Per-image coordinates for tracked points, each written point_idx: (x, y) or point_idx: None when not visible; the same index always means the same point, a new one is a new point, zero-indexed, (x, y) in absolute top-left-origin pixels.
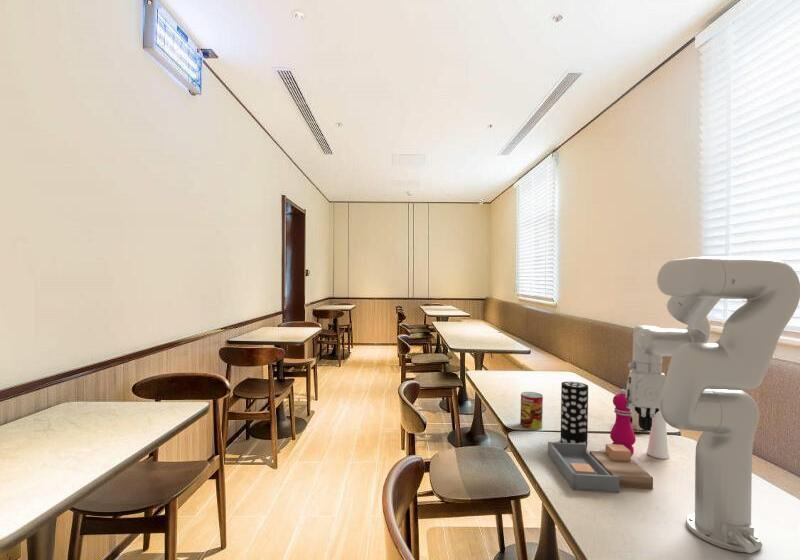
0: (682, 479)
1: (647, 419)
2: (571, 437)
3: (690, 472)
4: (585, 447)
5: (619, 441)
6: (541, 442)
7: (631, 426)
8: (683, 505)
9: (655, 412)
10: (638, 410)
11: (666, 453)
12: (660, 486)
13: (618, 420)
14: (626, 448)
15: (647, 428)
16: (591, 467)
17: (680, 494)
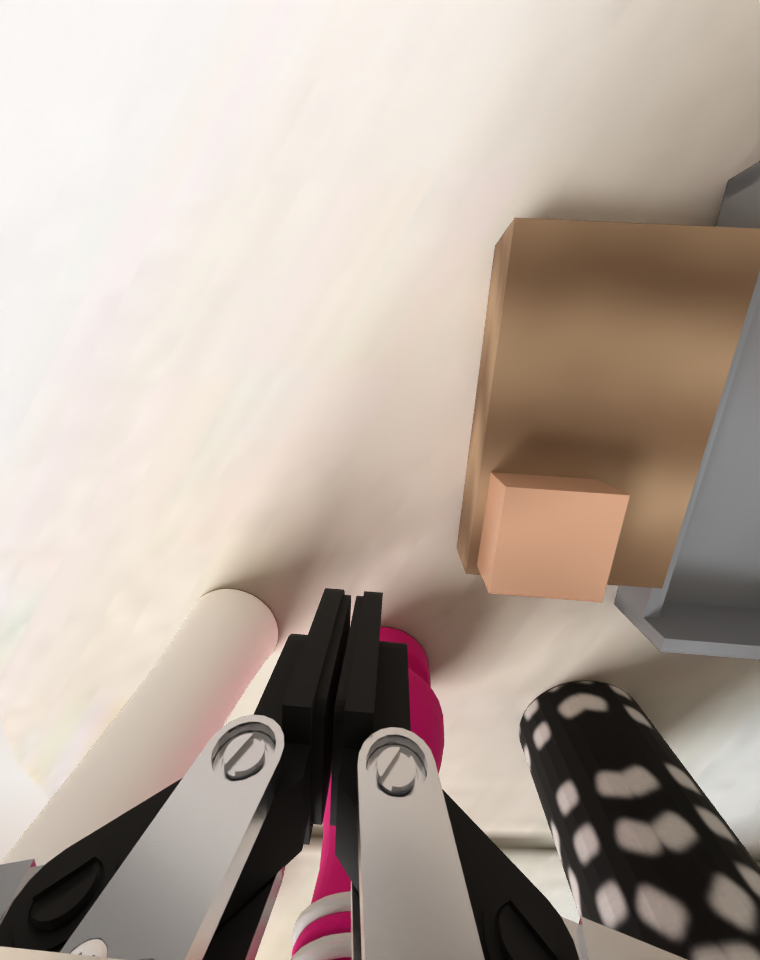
0: (265, 373)
1: (343, 688)
2: (660, 741)
3: (181, 453)
4: (659, 627)
5: (424, 682)
6: (736, 745)
7: None
8: (448, 42)
9: (136, 826)
10: (501, 900)
11: (202, 607)
12: (432, 282)
13: None
14: (503, 536)
15: (356, 604)
16: None
17: (380, 189)
